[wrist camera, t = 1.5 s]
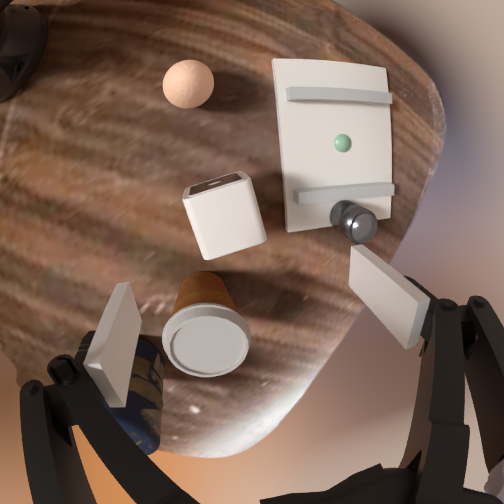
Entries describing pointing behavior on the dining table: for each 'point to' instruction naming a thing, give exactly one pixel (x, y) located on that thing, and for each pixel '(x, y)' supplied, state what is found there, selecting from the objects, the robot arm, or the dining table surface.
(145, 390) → the canister
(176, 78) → the egg
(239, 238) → the white rounded plastic box
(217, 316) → the disposable coffee cup
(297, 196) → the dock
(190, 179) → the dining table surface
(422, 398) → the robot arm
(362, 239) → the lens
